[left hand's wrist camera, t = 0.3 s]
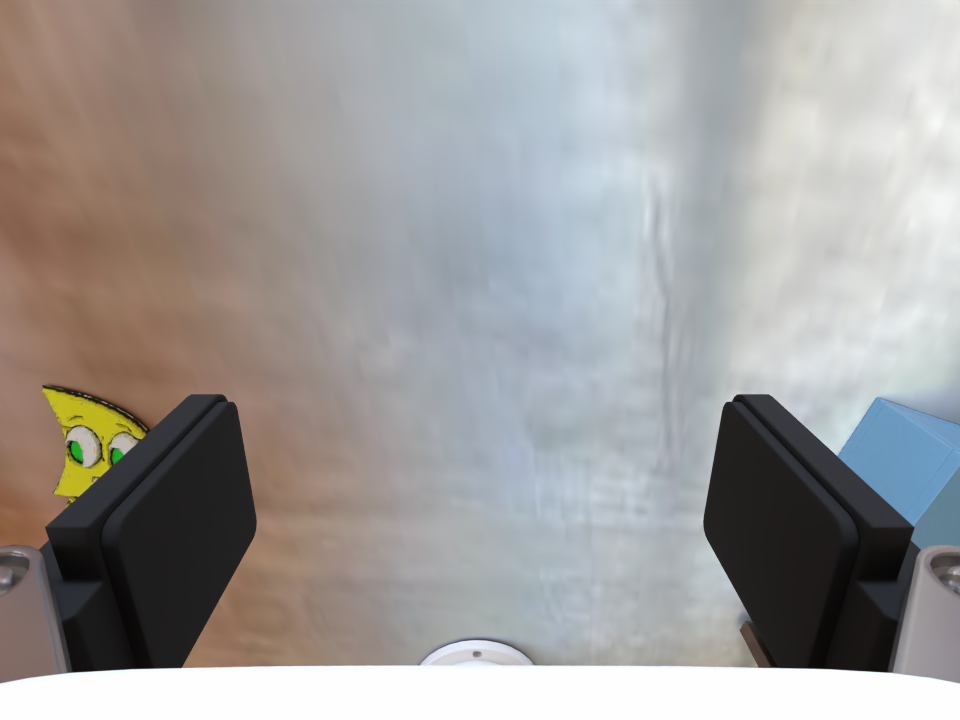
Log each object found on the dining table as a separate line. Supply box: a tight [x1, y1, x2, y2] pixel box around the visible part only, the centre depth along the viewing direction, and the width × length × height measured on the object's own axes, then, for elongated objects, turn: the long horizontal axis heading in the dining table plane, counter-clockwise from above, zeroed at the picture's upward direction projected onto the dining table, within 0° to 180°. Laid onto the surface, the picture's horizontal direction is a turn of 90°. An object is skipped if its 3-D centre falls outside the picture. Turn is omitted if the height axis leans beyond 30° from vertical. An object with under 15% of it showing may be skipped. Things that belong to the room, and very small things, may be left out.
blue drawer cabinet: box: [838, 398, 960, 550], centre depth 45 cm, size 22×11×9 cm, turn 161°
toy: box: [42, 385, 149, 508], centre depth 47 cm, size 10×1×15 cm
